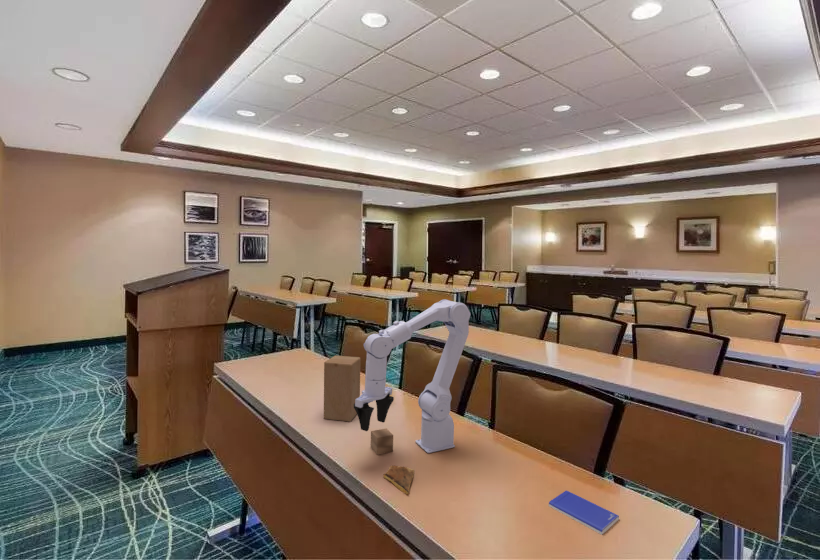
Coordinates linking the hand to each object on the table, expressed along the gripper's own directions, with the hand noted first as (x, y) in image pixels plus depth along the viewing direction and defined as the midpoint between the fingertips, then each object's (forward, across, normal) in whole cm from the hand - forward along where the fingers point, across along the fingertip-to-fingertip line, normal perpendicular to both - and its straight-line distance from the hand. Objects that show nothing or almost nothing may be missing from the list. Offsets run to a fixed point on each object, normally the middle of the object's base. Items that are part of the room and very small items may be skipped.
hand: (373, 425), depth 115 cm
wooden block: (+9, -18, -27) cm, 34 cm away
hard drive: (+9, -8, +54) cm, 56 cm away
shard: (+10, +4, +14) cm, 17 cm away
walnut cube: (+9, -6, -1) cm, 11 cm away
